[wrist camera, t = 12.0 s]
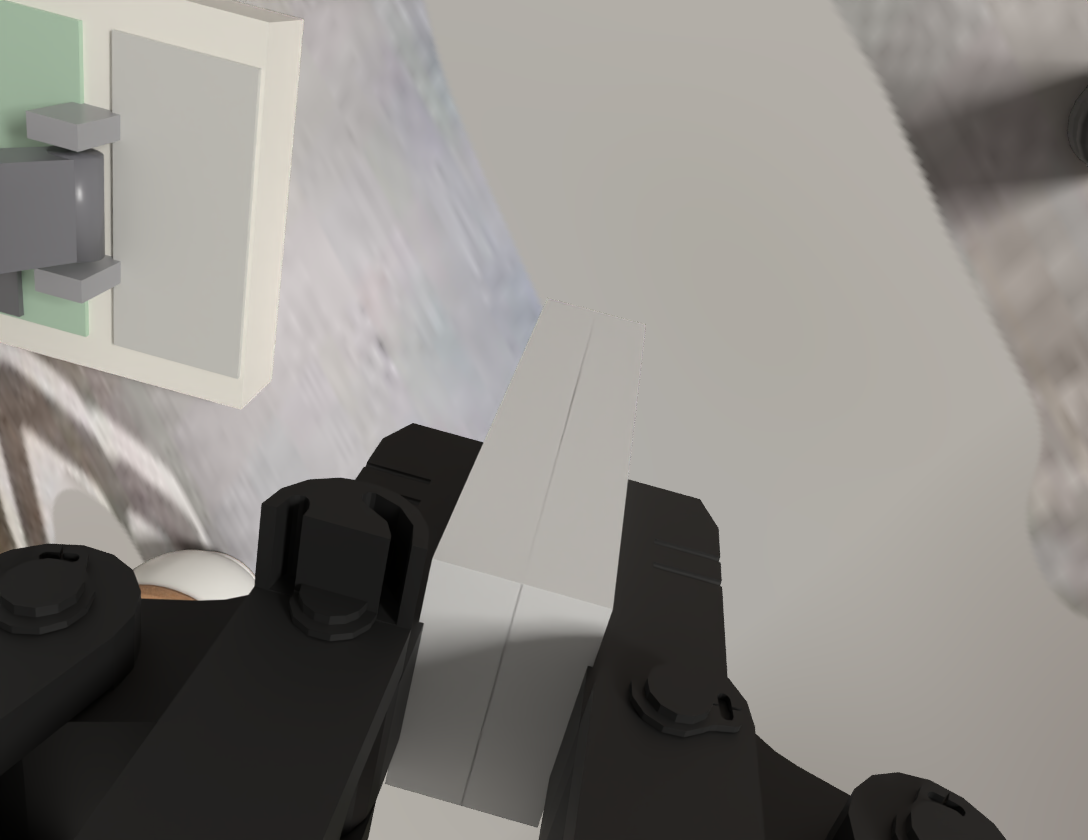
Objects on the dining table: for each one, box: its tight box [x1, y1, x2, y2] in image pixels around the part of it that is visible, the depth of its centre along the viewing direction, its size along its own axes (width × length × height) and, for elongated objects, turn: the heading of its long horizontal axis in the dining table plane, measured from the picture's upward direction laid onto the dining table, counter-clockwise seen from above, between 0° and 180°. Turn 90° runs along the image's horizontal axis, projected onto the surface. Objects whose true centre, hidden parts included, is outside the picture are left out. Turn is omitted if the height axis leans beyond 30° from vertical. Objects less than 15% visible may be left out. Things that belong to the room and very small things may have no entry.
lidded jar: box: [133, 550, 255, 601], centre depth 55 cm, size 11×11×9 cm
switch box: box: [0, 0, 304, 409], centre depth 44 cm, size 16×20×8 cm
